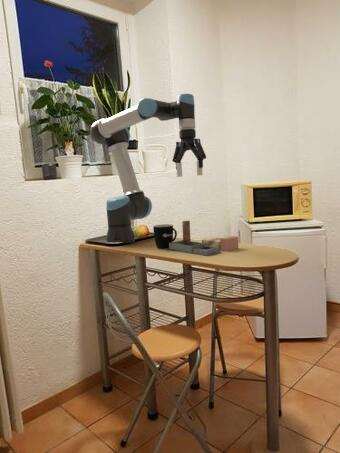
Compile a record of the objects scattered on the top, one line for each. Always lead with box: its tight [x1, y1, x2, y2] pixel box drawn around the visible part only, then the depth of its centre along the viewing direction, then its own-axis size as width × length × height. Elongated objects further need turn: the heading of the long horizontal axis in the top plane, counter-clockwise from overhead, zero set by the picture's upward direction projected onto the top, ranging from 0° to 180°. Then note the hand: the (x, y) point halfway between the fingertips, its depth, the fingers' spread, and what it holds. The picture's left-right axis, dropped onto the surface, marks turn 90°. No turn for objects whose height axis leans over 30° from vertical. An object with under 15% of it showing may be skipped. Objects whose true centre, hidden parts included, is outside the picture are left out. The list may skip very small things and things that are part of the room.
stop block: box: [220, 235, 239, 252], centre depth 151 cm, size 3×8×5 cm, turn 131°
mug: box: [152, 223, 178, 250], centre depth 164 cm, size 12×9×10 cm
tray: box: [168, 239, 205, 254], centre depth 155 cm, size 14×8×3 cm, turn 41°
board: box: [201, 236, 222, 251], centre depth 157 cm, size 10×8×4 cm
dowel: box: [181, 220, 192, 246], centre depth 155 cm, size 3×3×12 cm
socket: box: [192, 246, 221, 257], centre depth 147 cm, size 8×8×2 cm
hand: (189, 176), depth 168 cm, fingers open, 13 cm apart
